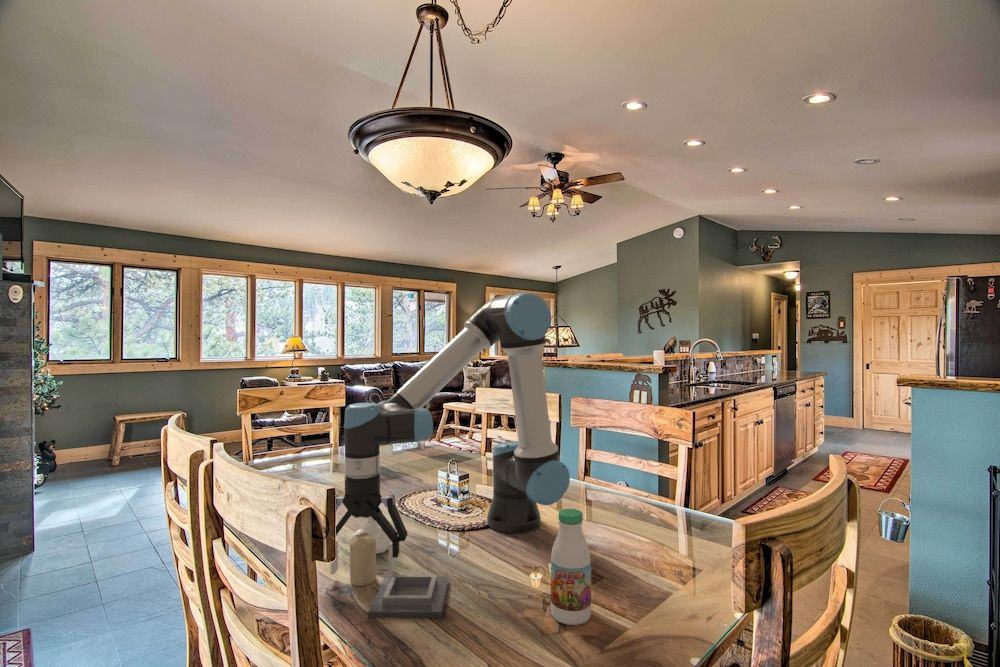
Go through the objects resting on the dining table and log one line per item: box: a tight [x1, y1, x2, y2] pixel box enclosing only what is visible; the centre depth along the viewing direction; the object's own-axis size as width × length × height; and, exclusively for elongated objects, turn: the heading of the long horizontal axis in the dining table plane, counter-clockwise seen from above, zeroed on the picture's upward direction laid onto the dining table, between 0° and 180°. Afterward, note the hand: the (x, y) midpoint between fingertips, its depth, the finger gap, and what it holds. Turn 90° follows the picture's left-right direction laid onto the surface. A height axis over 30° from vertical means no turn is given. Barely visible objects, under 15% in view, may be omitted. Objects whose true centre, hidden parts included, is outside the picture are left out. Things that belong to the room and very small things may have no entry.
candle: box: [349, 533, 377, 587], centre depth 114 cm, size 6×6×10 cm
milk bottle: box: [550, 508, 592, 626], centre depth 100 cm, size 8×8×20 cm
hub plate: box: [367, 574, 450, 619], centre depth 106 cm, size 14×14×3 cm
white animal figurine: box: [348, 516, 396, 555], centre depth 129 cm, size 12×8×11 cm
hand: (363, 571), depth 114 cm, fingers open, 12 cm apart
